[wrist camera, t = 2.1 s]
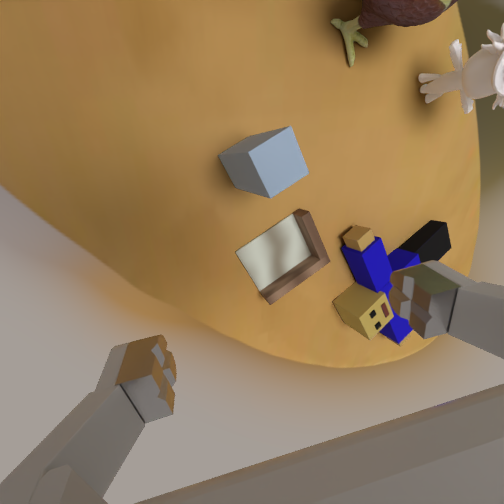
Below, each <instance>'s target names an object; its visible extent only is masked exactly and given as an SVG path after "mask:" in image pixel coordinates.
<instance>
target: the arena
mask: <svg viewBox="0 0 504 504" xmlns="http://www.w3.org/2000/svg"><path fill="white" fill-rule="evenodd" d="M235 253H236V254H237V256H238V257H239V259H240V261H241V262H242V264H243V265H244V267H245V269H246V270H247V272H248V273H249V275H250V277H251V278H252V280H253V281H254V283H255V285H256V286H257V288H258V289H259V291H260V293H261V294H262V296H263V297H264V298H265V300H266V301H267V302H268V303H269V304H270V305H271V304H273V303H274V302H275V301H277V300H278V299H279V298H281V297H282V296H284V295H285V294H286V293H288V292H289V291H290V290H292V289H293V288H295V287H296V286H297V285H299V284H300V283H302V282H303V281H304V280H306V279H307V278H308V277H310V276H311V275H313V274H314V273H315V272H317V271H318V270H320V269H321V268H322V267H324V266H325V265H326V264H328V263H329V262H330V259H329V257H328V255H327V252H326V250H325V248H324V245H323V243H322V240H321V238H320V236H319V233H318V231H317V228H316V226H315V224H314V221H313V219H312V217H311V214H310V212H309V211H306V210H302V209H298V210H296V211H295V212H293V213H292V214H290V215H289V216H287V217H286V218H284V219H283V220H281V221H280V222H278V223H277V224H276V225H274V226H273V227H271V228H270V229H268V230H267V231H265V232H264V233H262V234H261V235H259V236H258V237H256V238H255V239H253V240H252V241H250V242H249V243H247V244H246V245H244V246H243V247H241V248H240V249H238V250H237V251H235Z"/></svg>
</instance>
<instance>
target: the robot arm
mask: <svg viewBox="0 0 504 504" xmlns="http://www.w3.org/2000/svg"><path fill="white" fill-rule="evenodd" d="M390 283H391V284H392V285H393V287H392V288H391V290H390V291H389V302H390V305H391V307H392V309H393V310H394V312H395V313H396V314H397V315H398V316H399V317H402V318H405V319H407V320H409V326H410V327H411V328H412V329H413V330H414V331H416V332H417V333H418V334H419V335H420V336H421V337H422V338H423V339H427V338H430V337H434V336H438V335H442V334H445V333H448V334H449V335H451V336H453V337H456V338H458V339H460V340H462V341H465V342H467V343H469V344H471V345H474V346H476V347H478V348H480V349H483V350H485V351H487V352H489V353H492V354H494V355H496V356H498V357H501V358H503V359H504V286H501V285H496V284H490V283H486V282H479V283H477V282H475V281H473V280H471V279H469V278H468V277H466V276H464V275H462V274H461V273H459V272H457V271H455V270H453V269H451V268H450V267H448V266H446V265H444V264H442V263H440V262H439V261H435V260H431V261H427V262H424V263H421V264H418V265H415V266H411V267H408V268H404V269H400V270H397V271H393V272H392V273H391V275H390ZM166 347H167V342H166V340H165V338H164V336H163V335H157V336H153V337H149V338H145V339H141V340H137V341H133V342H130V343H126V344H122V345H118V346H115V347H114V348H112V349H111V352H110V354H109V357H108V359H107V362H106V364H105V367H104V369H103V372H102V374H101V377H100V379H99V382H98V384H97V387H96V390H95V392H91V393H89V394H88V395H87V396H86V397H85V398H84V399H83V400H82V401H81V402H80V403H79V404H78V405H77V406H76V407H75V408H74V409H73V410H72V411H71V412H70V413H69V415H67V416H66V417H65V418H64V419H63V420H62V422H60V423H59V425H57V427H56V428H55V429H54V430H53V431H52V432H51V433H50V434H49V435H48V436H47V437H46V438H45V439H44V440H43V441H42V442H41V443H40V444H39V445H38V446H37V447H36V448H35V449H34V450H33V451H32V452H31V453H30V454H29V455H28V456H27V457H26V458H25V459H24V460H23V461H22V462H21V463H20V464H19V465H18V466H17V467H16V468H15V469H14V470H13V471H12V472H11V473H10V474H9V475H8V476H7V477H6V479H4V480H3V481H2V482H1V484H0V504H108V503H107V502H106V501H105V500H104V499H103V496H104V494H105V493H106V491H107V489H108V488H109V486H110V484H111V482H112V481H113V479H114V477H115V476H116V474H117V472H118V470H119V469H120V467H121V466H122V464H123V462H124V460H125V459H126V457H127V455H128V454H129V452H130V450H131V449H132V447H133V445H134V443H135V442H136V440H137V438H138V437H139V435H140V433H141V432H142V430H143V428H144V427H145V423H148V422H151V421H154V420H157V419H160V418H163V417H166V416H169V415H172V414H173V408H174V397H175V393H174V391H173V389H172V386H173V385H174V383H175V382H176V374H177V373H176V364H175V360H174V357H173V355H172V353H171V352H170V351H167V350H166ZM135 504H504V384H501V385H498V386H495V387H492V388H489V389H486V390H483V391H480V392H477V393H474V394H471V395H468V396H464V397H461V398H458V399H455V400H452V401H449V402H446V403H443V404H440V405H437V406H434V407H431V408H428V409H424V410H421V411H418V412H415V413H412V414H409V415H406V416H403V417H400V418H397V419H394V420H390V421H388V422H384V423H381V424H378V425H375V426H372V427H369V428H366V429H363V430H360V431H356V432H353V433H350V434H347V435H344V436H341V437H338V438H335V439H332V440H329V441H326V442H322V443H319V444H317V445H313V446H310V447H307V448H304V449H301V450H298V451H295V452H292V453H289V454H285V455H282V456H279V457H276V458H273V459H270V460H267V461H264V462H261V463H258V464H255V465H252V466H249V467H245V468H242V469H239V470H236V471H233V472H230V473H227V474H224V475H221V476H218V477H215V478H212V479H209V480H206V481H202V482H199V483H196V484H193V485H190V486H187V487H184V488H181V489H178V490H175V491H172V492H169V493H165V494H163V495H159V496H156V497H153V498H150V499H147V500H144V501H141V502H138V503H135Z"/></svg>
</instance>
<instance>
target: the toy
mask: <svg viewBox="0 0 504 504" xmlns="http://www.w3.org/2000/svg"><path fill="white" fill-rule="evenodd" d="M343 239H344V242H345V245H344V246H343V247H342V248H341V249H342V251H343V253H344V255H345V257H346V260H347V262H348V264H349V266H350V268H351V271H352V273H353V275H354V277H355V279H356V282H355V283H353V284H352V285H351V286H350V287H348V288H347V289H346V290H345V291H344V292H342V293H341V294H340V295H339V296H338V297H337V298H336V299H335V300H334V301H333V303H334V305H335V307H336V309H337V311H338V313H339V314H340V316H341V318H342V320H343V322H344V323H345V324H347V325H348V326H350V327H351V328H353V329H354V330H356V331H357V332H359V333H360V334H361V335H363V336H364V337H366V338H367V339H369V340H371V339H372V338H373V337H374V336H375V335H376V334H377V333H378V332H380V333H382V334H383V335H385V336H386V337H387V338H388V339H389V340H391V341H393V342H394V343H396V344H397V345H399V346H400V347H401V345H402V344H403V343H404V342H405V341H406V340H407V339H408V338H409V337H410V332H411V331H412V330H413V329H412V328H411V327H410V326H409V320H407V319H405V318H402V317H399V316H398V315H397V314H396V313H395V312H394V310H393V309H392V307H391V305H390V302H389V291H390V290H391V288H392V287H393V285H392V284H391V283H390V275H391V273H392V272H393V271H397V270H400V269H404V268H408V267H411V266H415V265H418V264H421V263H424V262H427V261H431V260H435V261H438V260H439V259H440V258H441V257H442V256H443V255H444V254H445V253H446V252H447V251H448V250H449V249H450V248H451V243H450V238H449V233H448V228H447V223H446V222H440V221H433V220H431V221H429V222H428V223H427V224H426V225H424V226H423V227H422V228H421V229H420V230H418V231H417V232H416V233H415V234H414V235H413V236H412V237H411V238H410V239H409V240H407V241H406V242H405V243H404V244H403V245H402V246H401V247H400V248H399V249H398V248H396V249H395V250H394V251H393V252H391V253H390V254H389V255H388V256H387V254H386V251H385V248H384V245H383V243H382V240H381V238H380V237H376V236H374V235H373V232H372V230H371V229H370V228H366V227H361V226H357V225H355V226H354V227H353V228H352V229H351V230H350V231H349V232H347V233H346V234H345V235H344V236H343Z"/></svg>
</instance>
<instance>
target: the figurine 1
mask: <svg viewBox="0 0 504 504" xmlns="http://www.w3.org/2000/svg"><path fill="white" fill-rule="evenodd" d="M456 1H458V0H362V11H361V14H360V16H358V17H357V18H355V19H353V20H352V21H347V22H343V21H342V20H341V19H333V20H332V21H331V24H333V25H334V26H335V27H336V28H338V29H340V30H341V32H342V35H343V37H344V40H345V45H346V50H347V55H348V61H349V65H350V67H352V66H353V64H354V60H355V51H354V46H353V42H354V41H356V42H357V43H359V44H360V45H361V46H363V47H367V46H368V40H367V38H366V37H364V36H363V35H361V34H360V33H359V32H357V30H358V29H360V28H361V27H362V28H363V29H365V28H370V27H375V26H383V25H392V24H394V25H397V26H403V27H409V26H417V25H422V24H425V23H428V22H430V21H432V20H434V19H436V18H437V17H438V16H439V15H440V14H441V13H442V12H444V11H445V10H447V9H448V8H449V7H451V6H452V5H453V4H454V3H455V2H456Z"/></svg>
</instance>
